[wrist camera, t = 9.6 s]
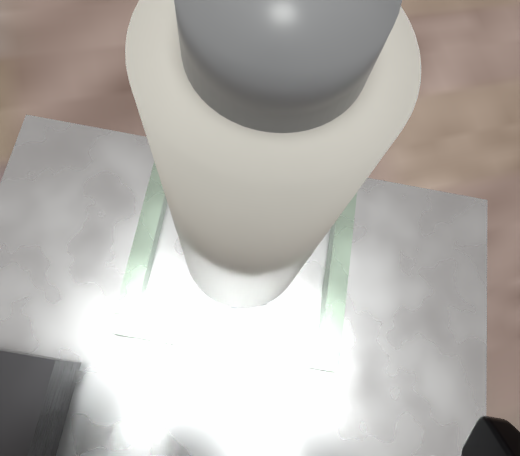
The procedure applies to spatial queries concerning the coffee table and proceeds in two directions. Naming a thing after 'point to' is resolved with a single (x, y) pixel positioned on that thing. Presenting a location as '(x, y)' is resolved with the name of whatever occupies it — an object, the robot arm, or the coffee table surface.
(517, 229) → the coffee table surface
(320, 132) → the cream bottle
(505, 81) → the coffee table surface
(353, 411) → the plate
